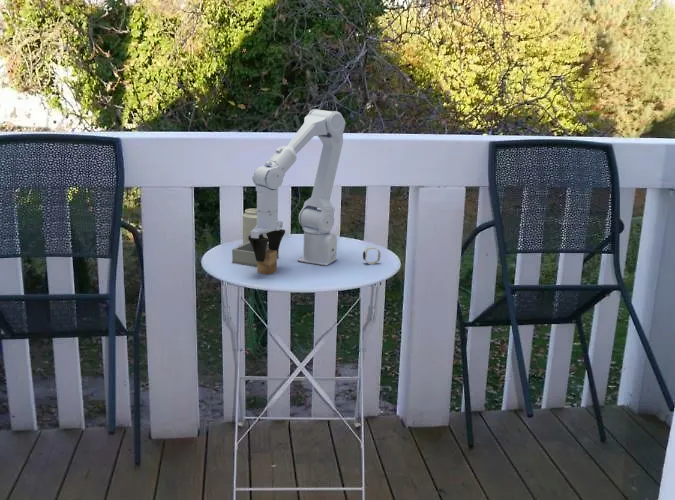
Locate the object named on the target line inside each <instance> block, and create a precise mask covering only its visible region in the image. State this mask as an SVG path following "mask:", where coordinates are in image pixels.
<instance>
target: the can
mask: <svg viewBox="0 0 675 500" xmlns="http://www.w3.org/2000/svg"><path fill="white" fill-rule="evenodd" d="M256 225H257V207H256V208H246V209H245V210H244V213H243V214H242V245H244V244H246V243H248V242H250V241H249V240H248V236H250V235H251V231H252V230H253V229H254V228H255V227H256ZM263 236H264V238H267V235H266V234H264V235H263Z"/></svg>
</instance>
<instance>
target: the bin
mask: <svg viewBox="0 0 675 500" xmlns="http://www.w3.org/2000/svg"><path fill="white" fill-rule="evenodd" d="M266 249H269V244H268V243H267V246H266ZM231 250H232V254H231V255H232V256H231V257H232V258H231V261H232V263H233V264H238V265H245V266H251V267H256V268H257V261H256V257H255V253H254V250H253V247H252V245H251V243H250V242H248V243H246V244H244V245H243V244H242V245H238V246H237V247H235V248H232V249H231ZM279 253H280V252H279V250H278V254H277V259H279Z"/></svg>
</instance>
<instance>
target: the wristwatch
mask: <svg viewBox="0 0 675 500" xmlns="http://www.w3.org/2000/svg"><path fill="white" fill-rule="evenodd" d="M369 250H376V251H377V252H378V253H377V259H376V260H375V261H373V262H372V261H371V262H368V261H367V257H368V254H367V252H368V251H369ZM362 260H363V261H364V262H366V264H368V265H375V264H377V263H379V262H380V260H381V251H380V250H379V249H378V248H375V247H374V246H369V247H366V249H364V251H363V252H362Z"/></svg>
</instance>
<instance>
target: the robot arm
mask: <svg viewBox="0 0 675 500" xmlns="http://www.w3.org/2000/svg"><path fill="white" fill-rule="evenodd" d="M303 121H304V122H303V124H302V125H301V127H300V128H299V129H298V131H297V132H296V133H295V134H294V136H292V138H291V140H290V141H289V142H288V144H287V145H281V146H280V147H276V149H275V151H274V152H275V153H273V155H271V157H270V158H269V159H268V160H266V162H265V163H264V165H261V166H259V167H257V168H256V170H255V171H254V173H253V175H252V178H251V179H252V182H253V184H254V186H255V191H256V209H257V225H256V227H255V228H254V229H253V230H252V231H251V235H250V236H248V240H249V241H250V243H251V245H252V247H253V250H254V253H255V257H256V261H260V262H264V259H265V252H266V246H267V243H268V244H269V250H276V251H277V254H278V250H279V249H280V247H281V246H280V245H281V242H282V240H283V237H284V235H285V234H286V229H283V227H284V225H283V223H284V222H283V220H279V218H278V217H279V216H278V215H279V214H278V213H279V211H278V210H279V209H278V208H279V207H278V206H279V187H281V186H282V185H283V182H284V177H285V174H286V173H287V172H288V171H289V169H291V167H292V166H293V165H294V164H295V163H296V161H297V154H298V153H299V152H301V150H302V149H303V148H305V146H306V145H307V144H308V143H309V142H310V141H311V140H312V139H313V138H314V137H318V139H319V140H320V142H321V143H322V149H321V153H320V157H319V161H318V162H319V163H318V166H317V170H316V175H315V179H314V183H313V187H312V188H313V189H312V192H311V195H310V196H311V197H308V198H307V199H306V200H305V201H304V202H303V205H302V206H303V207H302V208H301V210H300V211H299V214H298V223H299V225H301V227H302V228H301V229H302V231H303V256H302V257H300V258H299V259H298V260H297V262H299V263H300V262H301V263H307V264H314V265H319V266H328V265H330V264H332V263H333V262H335V261H337V260H338V257H337V250H338V249H337V248H338V247H337V246H338V245H337V244H338V239H337V235H336V234H334V233H332V232H331V230H332V229H333V228H334V224H335V210H336V209H335V207H334V206H333V204H332V202H331V197H332V192H333V187H334V183H335V179H336V175H337V171H338V166H339V162H340V157H341V154H342V153H341V152H342V148H343V144H344V131H345V127H346V120H345V118H344V117H343V115H342V113H341V112H339V111H336V110H334V111H333V110H324V109H323V110H322V109H317V108H313V109H311V110H310V111H309V112H308V114H307V115H306V116H305V117H304V120H303ZM264 234H266V235H267V238H264V236H263V235H264Z"/></svg>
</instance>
